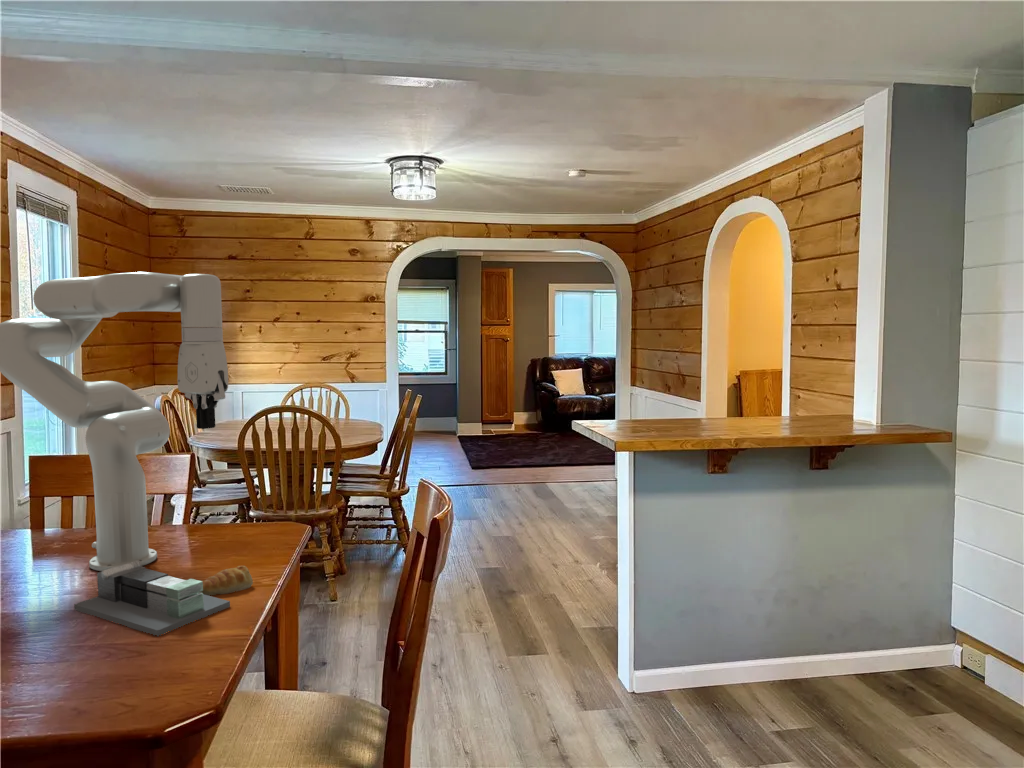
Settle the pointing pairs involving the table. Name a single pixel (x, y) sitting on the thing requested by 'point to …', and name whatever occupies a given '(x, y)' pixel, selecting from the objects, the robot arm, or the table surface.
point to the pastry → (227, 581)
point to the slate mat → (146, 614)
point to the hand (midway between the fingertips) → (206, 427)
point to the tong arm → (162, 583)
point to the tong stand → (144, 593)
